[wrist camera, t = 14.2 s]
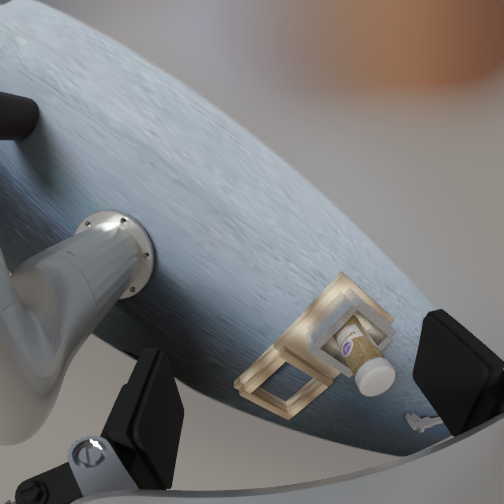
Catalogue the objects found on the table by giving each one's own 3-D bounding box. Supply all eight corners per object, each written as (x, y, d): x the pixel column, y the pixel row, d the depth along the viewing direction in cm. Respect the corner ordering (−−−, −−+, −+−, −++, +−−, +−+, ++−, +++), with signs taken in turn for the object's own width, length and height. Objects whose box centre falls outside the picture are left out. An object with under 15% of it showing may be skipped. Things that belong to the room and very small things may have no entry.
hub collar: (343, 362, 44) (351, 379, 40) (301, 333, 42) (307, 350, 38) (385, 319, 42) (398, 333, 38) (346, 284, 40) (358, 297, 36)
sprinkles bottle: (333, 311, 41) (366, 368, 28) (361, 312, 42) (402, 365, 29) (326, 339, 43) (354, 399, 30) (354, 339, 43) (389, 396, 30)
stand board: (288, 410, 48) (290, 422, 45) (234, 381, 46) (233, 393, 43) (389, 315, 44) (398, 323, 41) (341, 271, 41) (348, 278, 39)
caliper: (402, 414, 51) (414, 434, 45) (405, 410, 51) (417, 430, 45) (456, 415, 54) (467, 431, 48) (458, 412, 54) (470, 427, 48)
